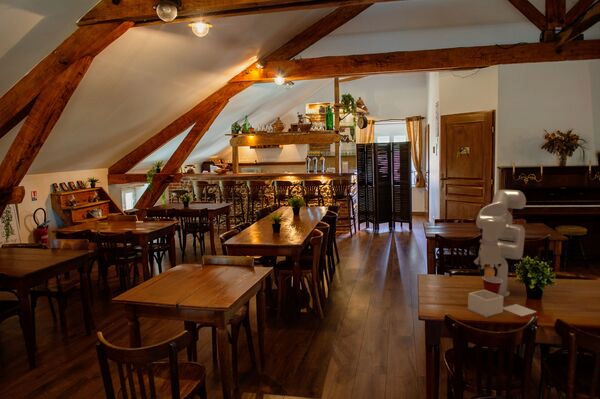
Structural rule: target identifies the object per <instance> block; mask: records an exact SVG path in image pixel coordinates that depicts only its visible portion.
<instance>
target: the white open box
mask: <svg viewBox="0 0 600 399" xmlns="http://www.w3.org/2000/svg"><path fill="white" fill-rule="evenodd" d="M467 297H468V299H467V303H468V304H467V310H468V311H471V312H473V313H476V314H477V315H480V316H482V317H485V318H490V317H491V316H493V315H498V314H502V313H503V312H504V309H503V308H504V297H505V296H501V295H498V294H495V293H493V292H490V291H487V290H484V289H482V290H477V291H473V292H469V293H468V296H467Z"/></svg>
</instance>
